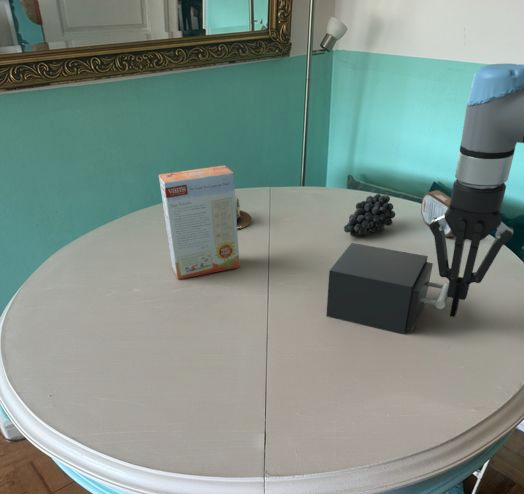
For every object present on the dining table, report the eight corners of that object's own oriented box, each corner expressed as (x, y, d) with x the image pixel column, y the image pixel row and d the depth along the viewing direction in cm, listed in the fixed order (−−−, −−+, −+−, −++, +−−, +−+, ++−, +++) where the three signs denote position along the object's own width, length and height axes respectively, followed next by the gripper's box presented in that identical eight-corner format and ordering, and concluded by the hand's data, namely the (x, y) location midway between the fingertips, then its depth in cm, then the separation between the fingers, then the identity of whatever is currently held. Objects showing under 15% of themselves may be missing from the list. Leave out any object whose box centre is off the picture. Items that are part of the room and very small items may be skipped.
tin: (460, 241, 122) (468, 206, 117) (448, 243, 122) (456, 208, 117) (427, 217, 134) (433, 185, 129) (416, 219, 133) (421, 186, 128)
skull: (209, 206, 140) (233, 179, 134) (237, 233, 142) (262, 208, 136) (194, 222, 130) (218, 194, 124) (224, 251, 132) (250, 224, 127)
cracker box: (231, 257, 118) (226, 163, 105) (240, 268, 113) (235, 172, 101) (171, 268, 114) (157, 172, 101) (177, 280, 109) (164, 181, 97)
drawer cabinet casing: (419, 301, 101) (427, 256, 95) (404, 334, 92) (412, 287, 86) (347, 285, 106) (351, 242, 100) (326, 316, 97) (329, 270, 91)
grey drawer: (448, 304, 98) (457, 267, 93) (437, 335, 90) (445, 296, 85) (357, 285, 104) (361, 250, 100) (339, 313, 96) (342, 275, 91)
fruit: (353, 205, 117) (398, 189, 124) (329, 207, 124) (373, 191, 131) (359, 243, 120) (403, 225, 127) (335, 242, 127) (378, 225, 134)
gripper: (527, 177, 79) (493, 309, 93) (442, 169, 83) (421, 296, 97) (523, 193, 73) (487, 331, 87) (433, 184, 78) (412, 316, 92)
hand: (453, 313), depth 92 cm, fingers closed
